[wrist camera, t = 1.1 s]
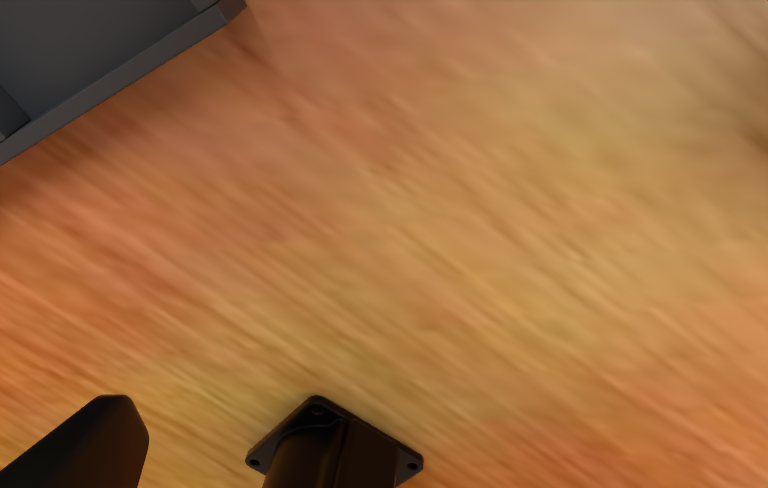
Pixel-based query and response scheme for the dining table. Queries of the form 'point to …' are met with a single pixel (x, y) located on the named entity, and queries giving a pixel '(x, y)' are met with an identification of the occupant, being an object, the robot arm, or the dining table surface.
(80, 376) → the dining table surface
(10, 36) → the grid
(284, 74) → the dining table surface
